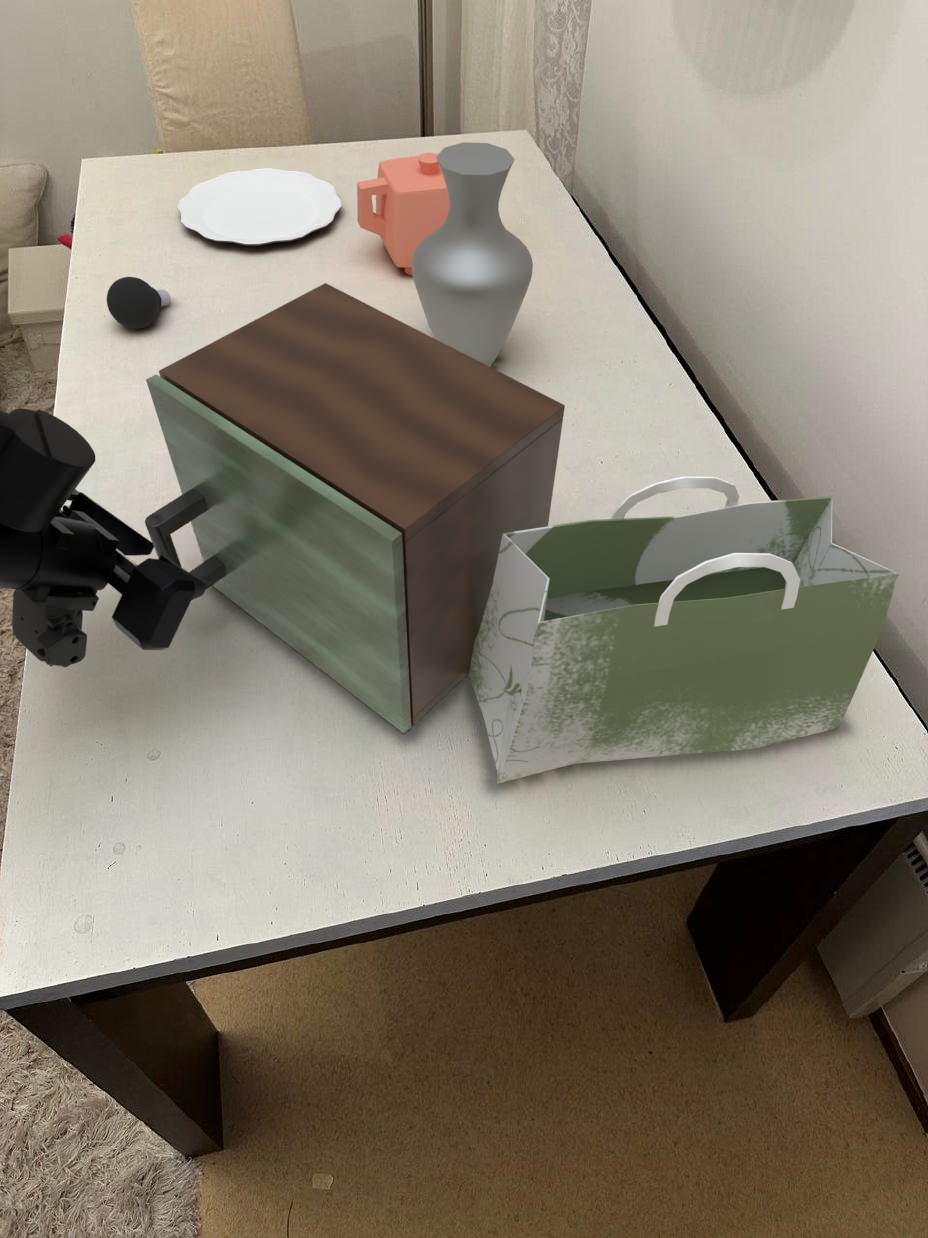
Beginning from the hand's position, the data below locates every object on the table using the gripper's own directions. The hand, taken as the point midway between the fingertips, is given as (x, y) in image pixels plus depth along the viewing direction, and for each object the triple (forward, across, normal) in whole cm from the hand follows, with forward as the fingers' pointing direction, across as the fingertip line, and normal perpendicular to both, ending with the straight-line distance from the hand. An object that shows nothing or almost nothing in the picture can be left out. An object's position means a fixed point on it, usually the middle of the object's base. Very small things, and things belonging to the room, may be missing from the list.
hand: (177, 568), depth 75 cm
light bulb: (+26, -48, +14) cm, 56 cm away
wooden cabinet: (+16, +10, +4) cm, 19 cm away
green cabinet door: (+7, +10, -4) cm, 13 cm away
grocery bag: (+21, +37, +9) cm, 44 cm away
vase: (+42, -9, +31) cm, 53 cm away
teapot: (+54, -30, +43) cm, 75 cm away
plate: (+48, -59, +36) cm, 84 cm away
